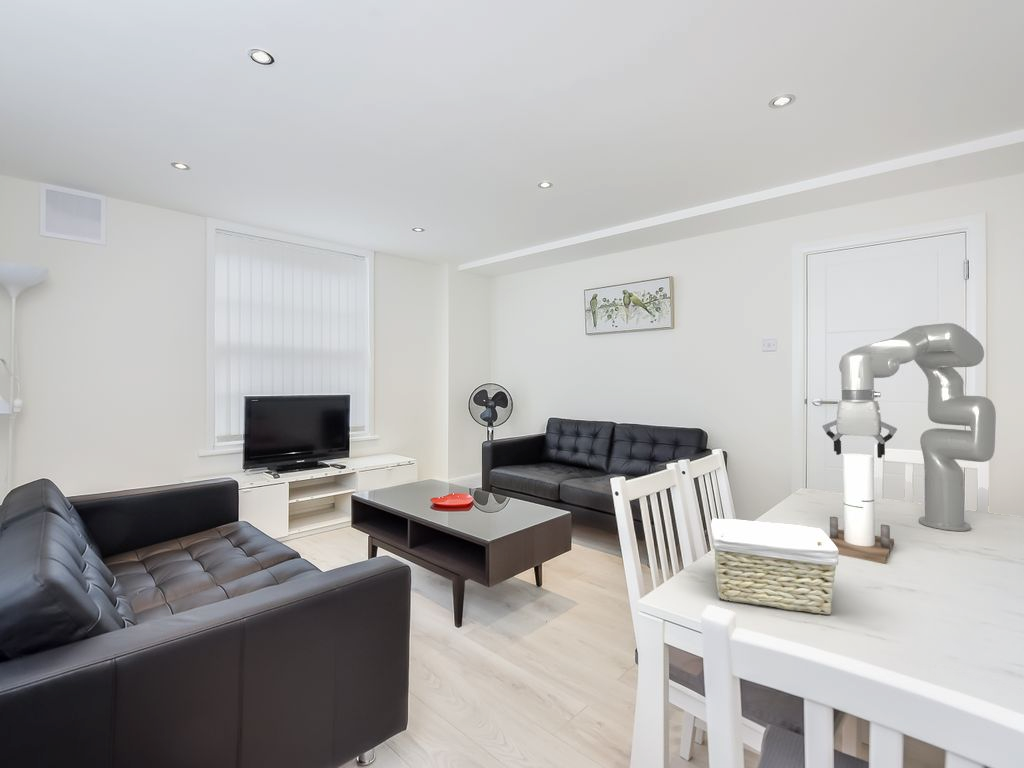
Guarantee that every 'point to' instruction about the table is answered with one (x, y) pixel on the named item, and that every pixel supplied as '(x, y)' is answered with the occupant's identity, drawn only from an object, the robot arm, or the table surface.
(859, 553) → the board
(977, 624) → the table surface
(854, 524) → the cylindrical container
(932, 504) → the robot arm
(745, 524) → the storage basket
